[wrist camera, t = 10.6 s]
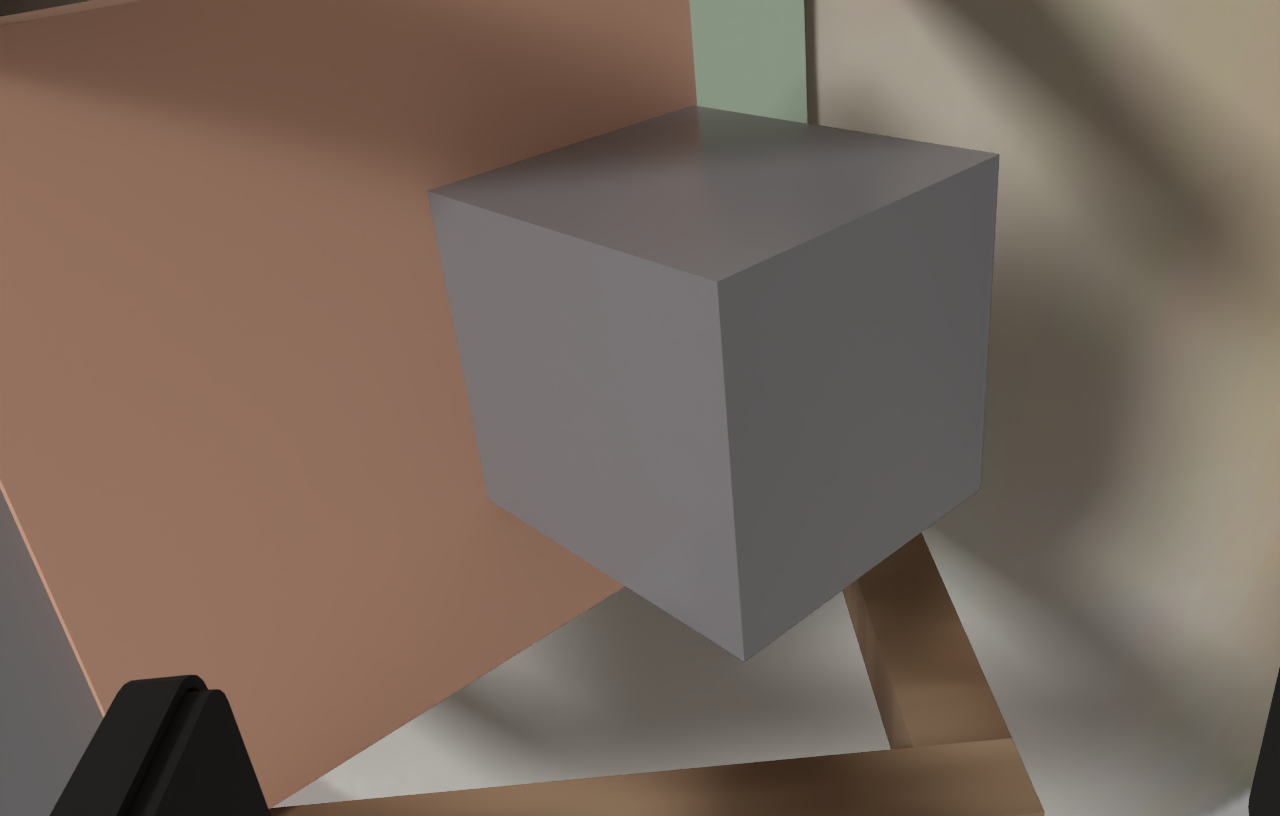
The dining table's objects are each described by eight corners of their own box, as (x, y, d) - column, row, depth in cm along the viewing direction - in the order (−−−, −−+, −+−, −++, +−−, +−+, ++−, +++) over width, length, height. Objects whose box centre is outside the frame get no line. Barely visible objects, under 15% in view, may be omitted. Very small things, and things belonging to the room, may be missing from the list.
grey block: (692, 104, 19) (999, 154, 15) (713, 381, 22) (980, 489, 17) (426, 191, 16) (717, 281, 12) (487, 499, 19) (744, 661, 15)
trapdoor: (-342, 944, 16) (-325, 1180, 13) (-988, 154, 11) (-1219, 248, 8) (594, 452, 26) (728, 521, 23) (517, -94, 21) (681, -98, 18)
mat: (798, -112, 24) (801, -111, 24) (811, 341, 29) (813, 348, 29) (301, -56, 24) (297, -54, 24) (402, 384, 30) (399, 391, 29)
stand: (103, 495, 31) (-268, 1002, 18) (-147, -135, 23) (-1125, -68, 10) (849, 419, 30) (1037, 882, 17) (842, -250, 23) (1167, -335, 10)
